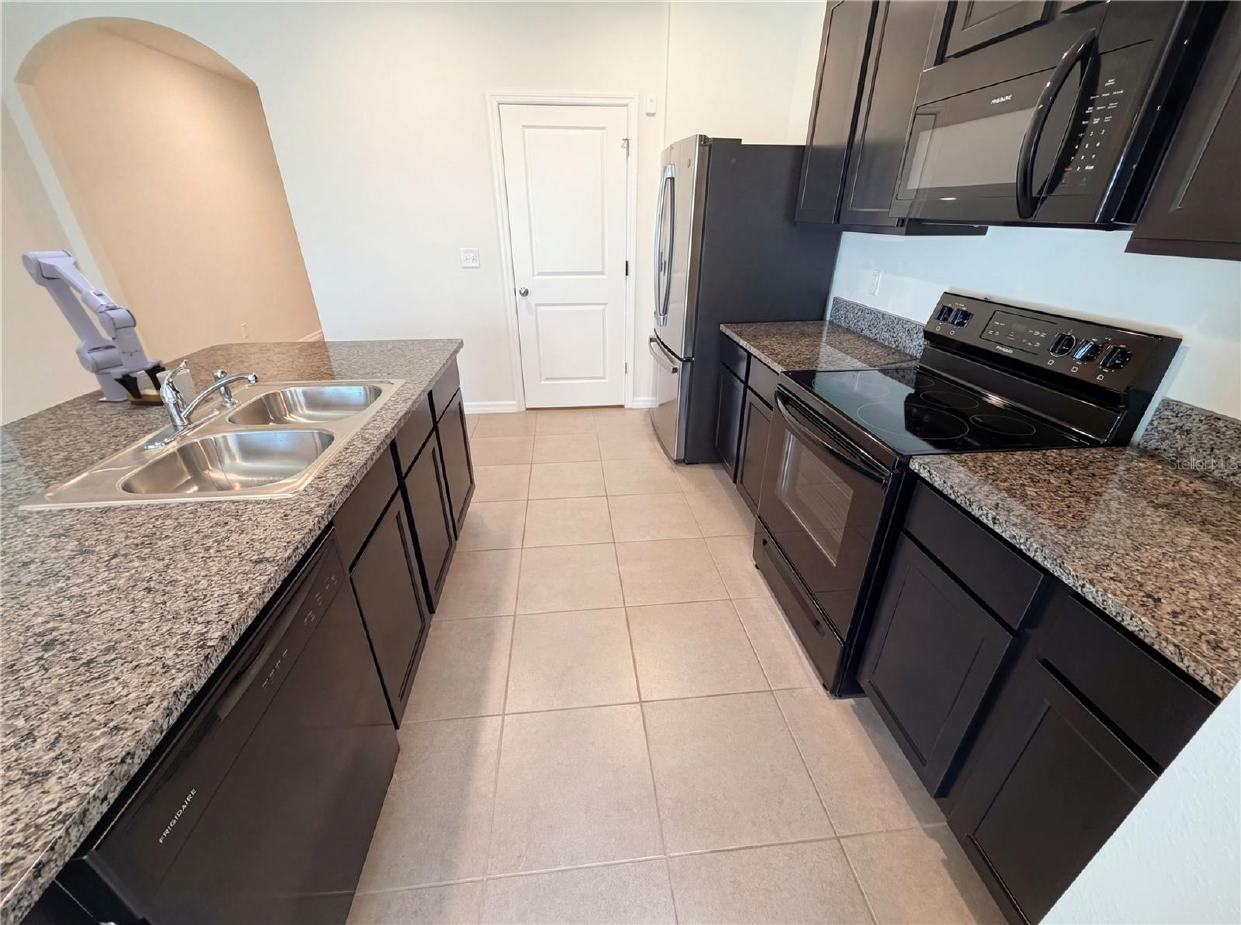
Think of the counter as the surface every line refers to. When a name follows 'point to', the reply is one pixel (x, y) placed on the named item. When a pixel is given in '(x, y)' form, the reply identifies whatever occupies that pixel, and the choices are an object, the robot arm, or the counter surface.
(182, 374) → the white cup
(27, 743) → the counter surface
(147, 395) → the scrub brush
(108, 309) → the robot arm
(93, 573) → the counter surface
